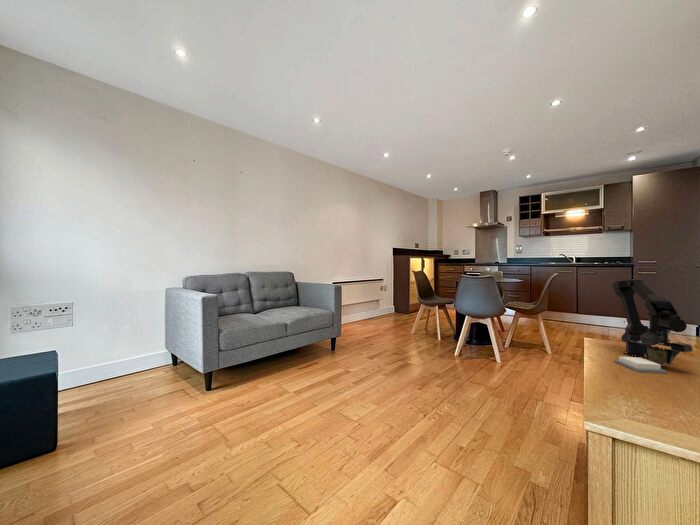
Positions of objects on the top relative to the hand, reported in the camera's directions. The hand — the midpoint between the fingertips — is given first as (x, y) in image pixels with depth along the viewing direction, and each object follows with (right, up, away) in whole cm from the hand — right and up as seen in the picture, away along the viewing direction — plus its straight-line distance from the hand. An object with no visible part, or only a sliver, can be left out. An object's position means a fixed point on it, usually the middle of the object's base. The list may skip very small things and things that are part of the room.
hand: (658, 361), depth 123 cm
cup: (0, -2, 0) cm, 2 cm away
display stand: (-12, -2, -3) cm, 12 cm away
